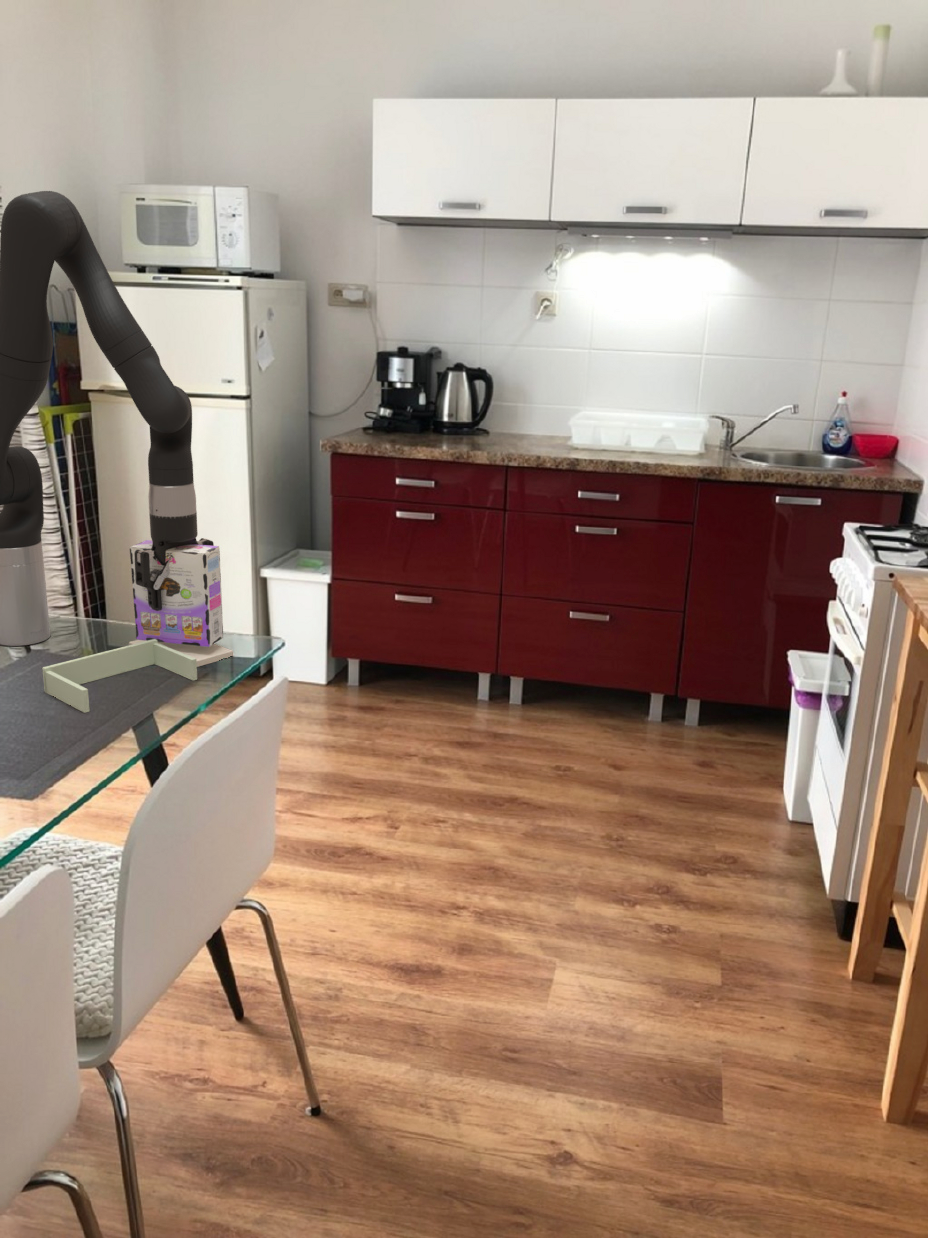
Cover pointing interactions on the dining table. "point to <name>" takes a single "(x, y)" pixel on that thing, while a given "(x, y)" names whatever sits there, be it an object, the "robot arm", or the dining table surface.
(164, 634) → the candy box
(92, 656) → the green u-shaped frame
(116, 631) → the dining table surface
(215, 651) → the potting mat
